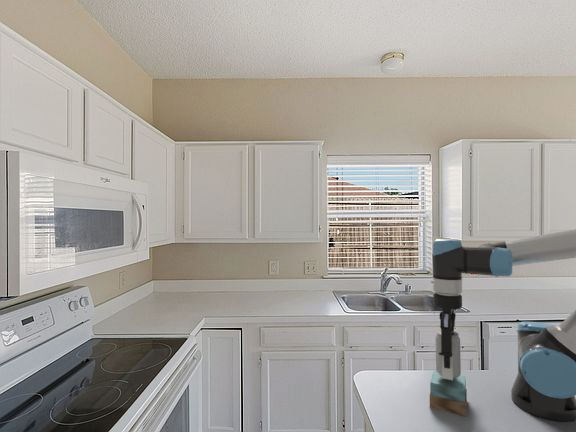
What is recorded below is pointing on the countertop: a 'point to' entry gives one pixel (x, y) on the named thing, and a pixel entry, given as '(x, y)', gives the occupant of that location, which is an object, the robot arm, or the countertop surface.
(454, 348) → the beverage can
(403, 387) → the countertop surface
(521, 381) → the robot arm
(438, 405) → the teal and brown block
